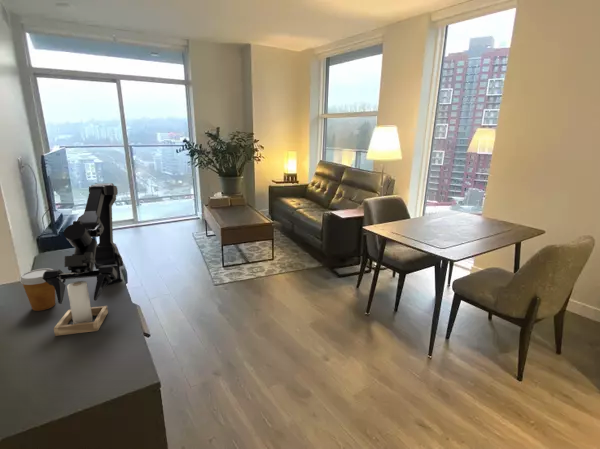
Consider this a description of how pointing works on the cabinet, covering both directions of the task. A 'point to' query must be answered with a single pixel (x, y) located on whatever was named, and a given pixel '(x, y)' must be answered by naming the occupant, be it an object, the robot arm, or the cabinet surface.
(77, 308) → the paper roll
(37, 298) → the disposable coffee cup
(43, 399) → the cabinet surface
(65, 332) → the oak holder
